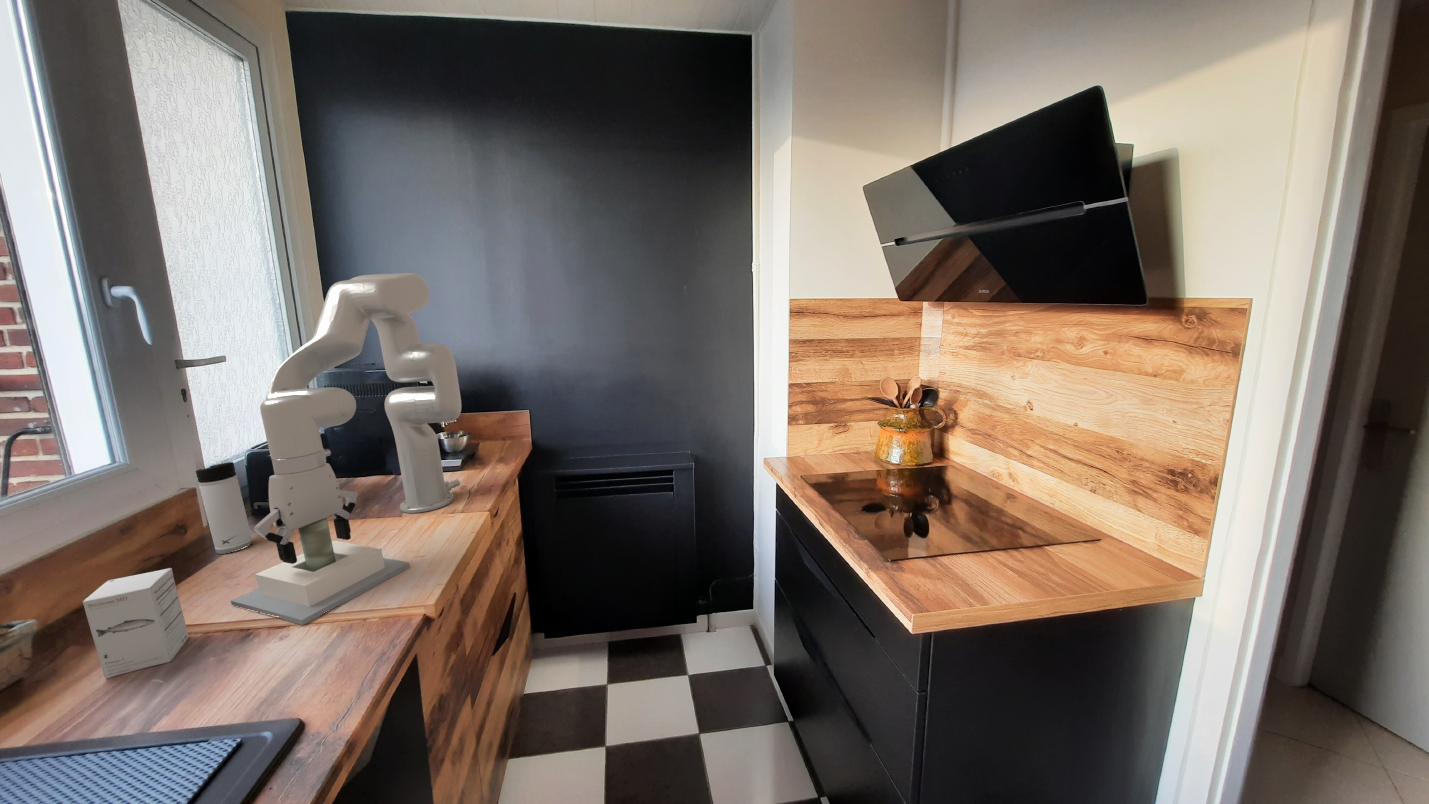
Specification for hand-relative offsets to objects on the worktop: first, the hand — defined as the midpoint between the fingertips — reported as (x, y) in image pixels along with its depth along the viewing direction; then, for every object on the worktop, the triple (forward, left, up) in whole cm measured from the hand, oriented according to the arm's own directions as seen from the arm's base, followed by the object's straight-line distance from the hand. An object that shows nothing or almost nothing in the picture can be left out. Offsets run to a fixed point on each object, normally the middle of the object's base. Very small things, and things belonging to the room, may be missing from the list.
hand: (318, 549), depth 99 cm
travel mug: (-5, -39, -7) cm, 40 cm away
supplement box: (+23, -5, -8) cm, 25 cm away
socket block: (0, 0, -7) cm, 7 cm away
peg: (0, 0, -6) cm, 6 cm away
